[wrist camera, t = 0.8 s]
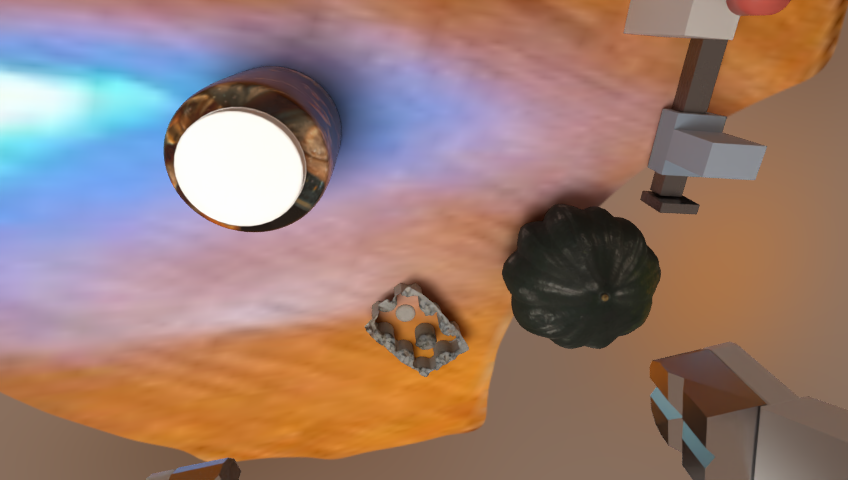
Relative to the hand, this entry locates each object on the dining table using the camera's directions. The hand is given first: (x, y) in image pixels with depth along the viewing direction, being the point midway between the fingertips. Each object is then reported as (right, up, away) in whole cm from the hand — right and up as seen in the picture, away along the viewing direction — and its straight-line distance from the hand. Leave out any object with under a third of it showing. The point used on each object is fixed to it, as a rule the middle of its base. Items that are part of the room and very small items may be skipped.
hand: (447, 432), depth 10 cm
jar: (-14, +14, +38) cm, 43 cm away
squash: (+14, +2, +46) cm, 48 cm away
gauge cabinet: (+20, +26, +36) cm, 49 cm away
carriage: (+25, +14, +42) cm, 51 cm away
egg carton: (-1, -5, +48) cm, 48 cm away
